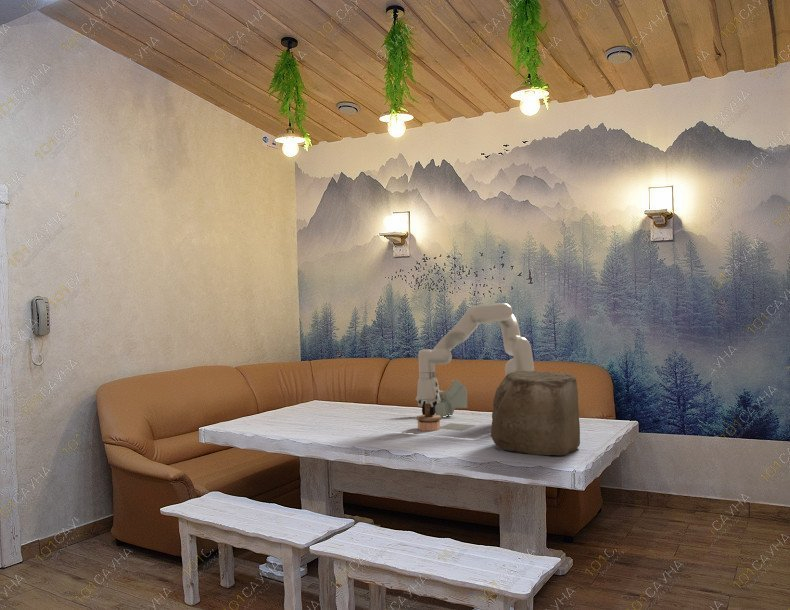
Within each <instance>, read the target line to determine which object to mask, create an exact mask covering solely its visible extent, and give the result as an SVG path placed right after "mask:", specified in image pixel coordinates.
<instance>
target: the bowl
mask: <svg viewBox="0 0 790 610" xmlns="http://www.w3.org/2000/svg"><path fill="white" fill-rule="evenodd" d="M440 427H441V421H440V420H437V421H418V420H417V430H418V429H419V430H418V431H421V430H422V431H421V432H433V431H434V432H435V431H439V430H440Z"/></svg>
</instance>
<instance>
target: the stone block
mask: <svg viewBox="0 0 790 610" xmlns="http://www.w3.org/2000/svg"><path fill="white" fill-rule="evenodd" d="M577 381H578V380H577V378H576V376H574V375H573V374H571V373H567V372H550V371H537V370H534V371H515V372H510V373H509V374H507V375H506V374H505V377H504V378H503V379H502V381H501V382H500V384H499V386H498V387H497V388H496V390H495V394H494V396H493V397H494V398H493V403H492V404H493V405H492V406H493V410H492V413H491V418H492V419H491V428H490V437H491V439H492V441H493V443H494V444H495V445H496V446H497V447H499V448H500V449H503V450H506V451H511V452H518V453H522V454H529V455H536V456H540V455H543V456H544V455H545V456H550V455H556V456H565V455H567V454H569V453H572V452H576V451H577V450H578V448H579V447H580V444H581V427H580V426H581V425H580V424H581V423H580V410H579V392H578V382H577Z"/></svg>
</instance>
